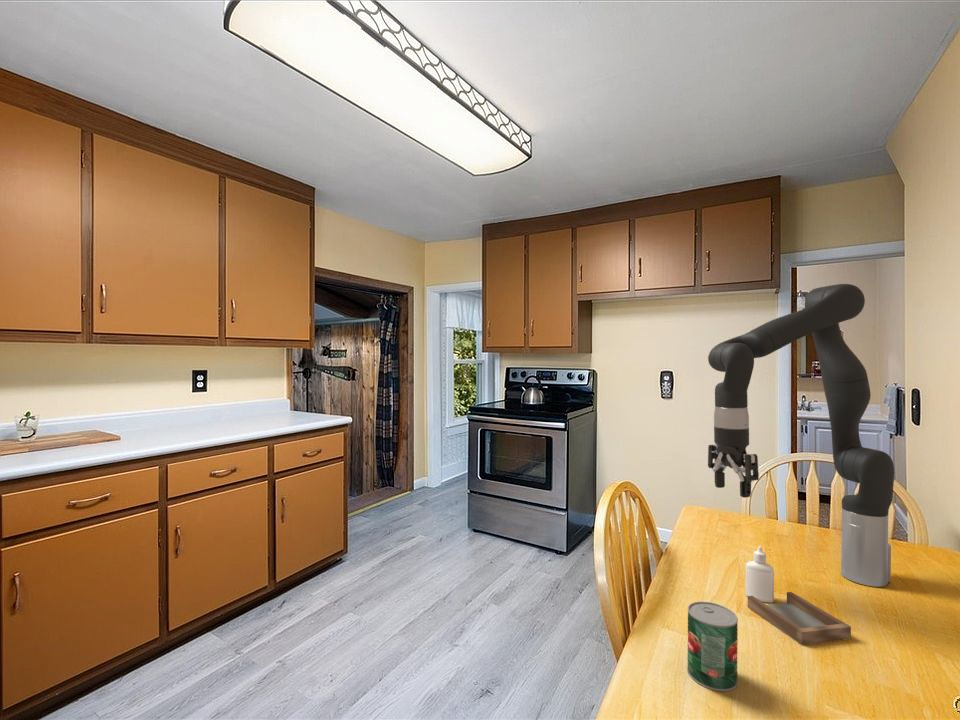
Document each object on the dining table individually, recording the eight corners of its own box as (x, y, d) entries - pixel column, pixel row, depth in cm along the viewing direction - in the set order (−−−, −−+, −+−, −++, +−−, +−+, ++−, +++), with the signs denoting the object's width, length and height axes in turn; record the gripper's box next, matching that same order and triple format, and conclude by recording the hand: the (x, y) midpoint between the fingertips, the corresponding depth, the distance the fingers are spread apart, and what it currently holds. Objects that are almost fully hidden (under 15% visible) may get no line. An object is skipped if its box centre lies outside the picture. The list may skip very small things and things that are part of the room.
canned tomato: (747, 690, 79) (748, 624, 79) (702, 692, 78) (703, 626, 78) (720, 660, 87) (720, 600, 87) (678, 662, 86) (679, 602, 86)
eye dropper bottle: (767, 606, 106) (768, 553, 106) (742, 595, 111) (742, 544, 111) (776, 601, 109) (777, 548, 109) (751, 590, 113) (752, 540, 113)
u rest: (791, 602, 108) (791, 591, 108) (850, 639, 94) (851, 626, 94) (747, 607, 106) (747, 596, 106) (801, 645, 92) (802, 632, 92)
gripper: (767, 429, 109) (768, 499, 109) (724, 420, 123) (725, 483, 123) (739, 430, 107) (740, 501, 107) (698, 422, 121) (699, 485, 121)
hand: (732, 491), depth 115 cm, fingers open, 8 cm apart
